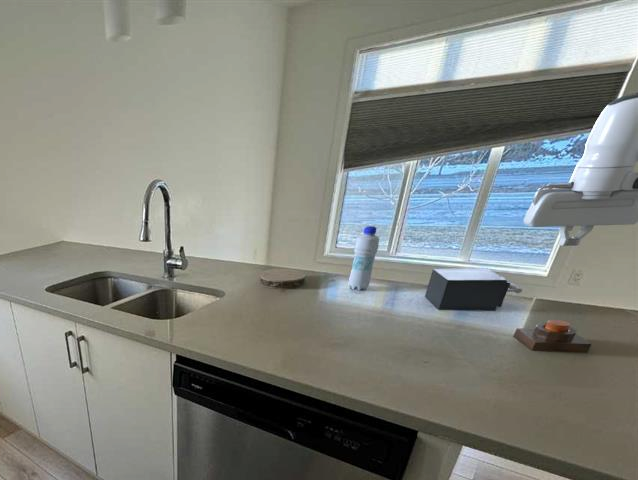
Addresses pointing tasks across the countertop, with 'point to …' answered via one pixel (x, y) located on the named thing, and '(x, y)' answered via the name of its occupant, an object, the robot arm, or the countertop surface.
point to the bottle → (364, 259)
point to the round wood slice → (282, 278)
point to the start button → (557, 326)
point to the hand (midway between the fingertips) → (568, 245)
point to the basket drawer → (511, 289)
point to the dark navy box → (465, 289)
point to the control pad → (551, 340)
